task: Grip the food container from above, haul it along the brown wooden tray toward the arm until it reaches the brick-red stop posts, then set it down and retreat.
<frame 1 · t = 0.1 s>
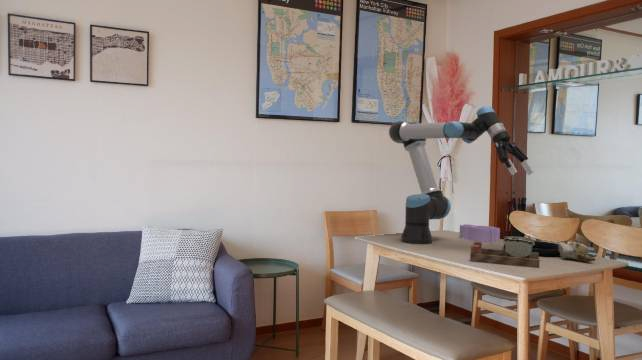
hand: (522, 173, 230), 36 cm above the table, fingers open, 13 cm apart
brown wooden tray: (504, 260, 215), on the table
food container: (520, 262, 213), on the table
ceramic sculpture: (576, 260, 221), on the table
clip: (478, 240, 273), on the table
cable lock: (537, 252, 239), on the table
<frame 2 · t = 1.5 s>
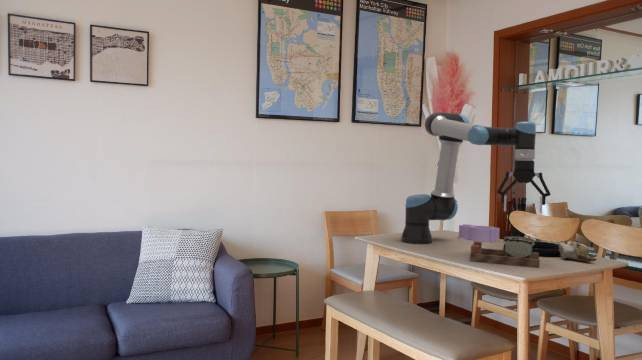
hand: (522, 212, 212), 20 cm above the table, fingers open, 13 cm apart
nothing on the table moved.
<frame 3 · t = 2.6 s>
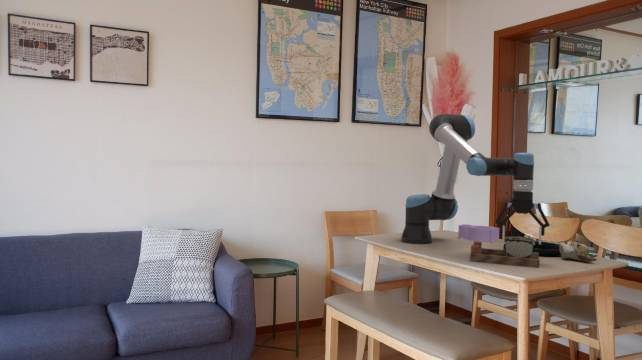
hand: (521, 243, 212), 8 cm above the table, fingers open, 13 cm apart
food container: (521, 262, 213), on the table, touching gripper
everything else where it was.
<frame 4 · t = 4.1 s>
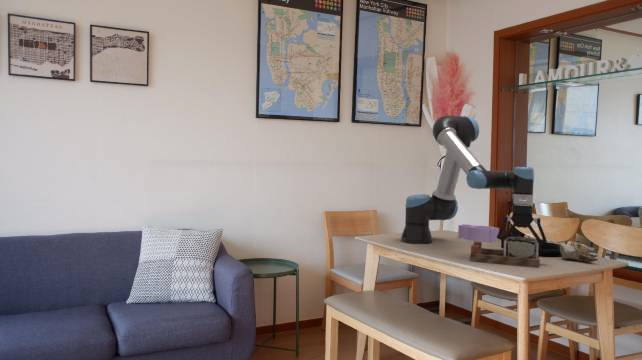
hand: (520, 257, 213), 2 cm above the table, fingers closed on food container, 12 cm apart
food container: (523, 262, 212), on the table, touching gripper
everything else where it was.
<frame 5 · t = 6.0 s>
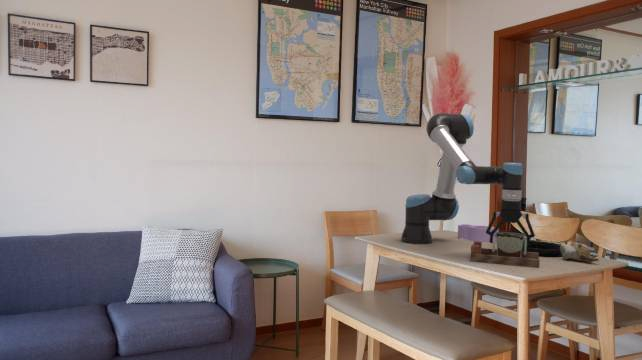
hand: (509, 252, 215), 3 cm above the table, fingers closed on food container, 12 cm apart
food container: (511, 257, 214), point 1 cm above the table, touching gripper
when the fingers open (3 cm above the table, at t = 8.4 s): food container stays where it is, on the table.
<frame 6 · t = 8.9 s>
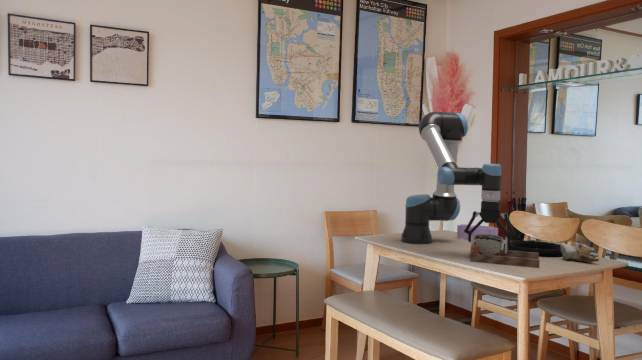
hand: (488, 251, 218), 3 cm above the table, fingers open, 13 cm apart
food container: (490, 259, 217), on the table
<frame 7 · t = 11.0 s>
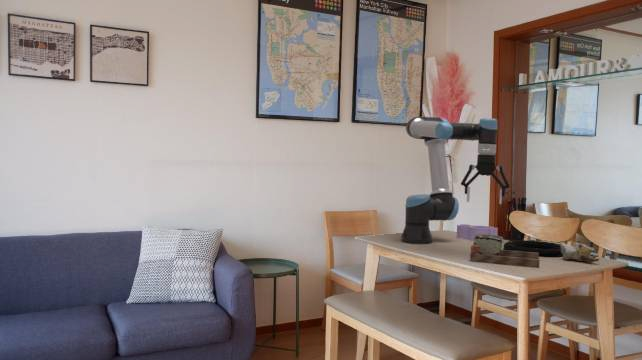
hand: (483, 202, 227), 23 cm above the table, fingers open, 13 cm apart
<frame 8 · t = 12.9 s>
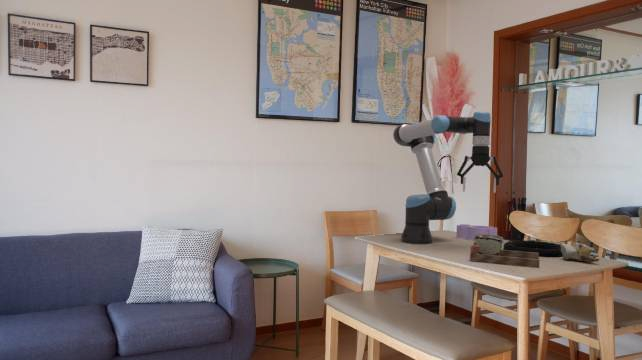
hand: (479, 192, 239), 27 cm above the table, fingers open, 13 cm apart
at the end: food container 1.0 cm from the target spot, on the table; food container tilted 0°; the gripper is holding nothing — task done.
